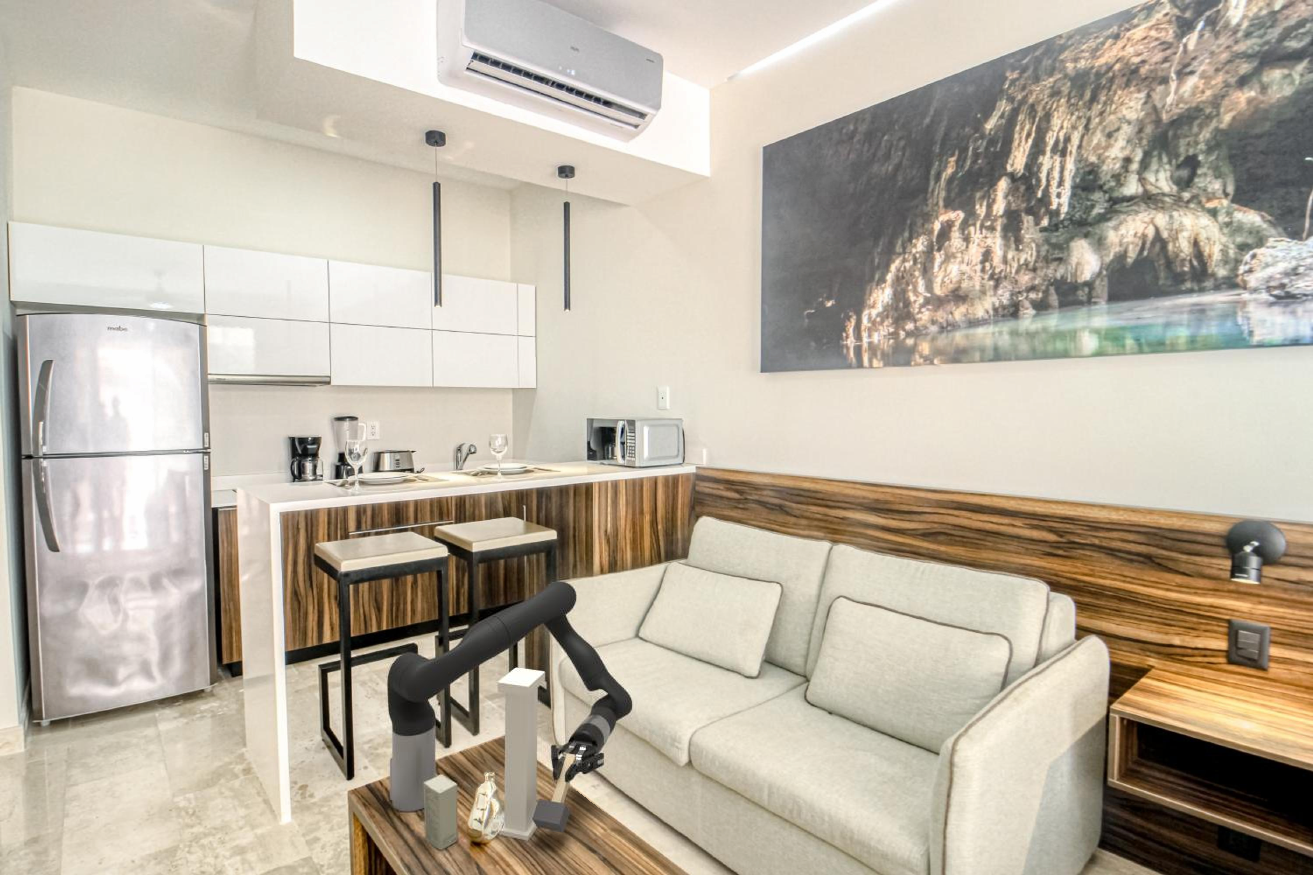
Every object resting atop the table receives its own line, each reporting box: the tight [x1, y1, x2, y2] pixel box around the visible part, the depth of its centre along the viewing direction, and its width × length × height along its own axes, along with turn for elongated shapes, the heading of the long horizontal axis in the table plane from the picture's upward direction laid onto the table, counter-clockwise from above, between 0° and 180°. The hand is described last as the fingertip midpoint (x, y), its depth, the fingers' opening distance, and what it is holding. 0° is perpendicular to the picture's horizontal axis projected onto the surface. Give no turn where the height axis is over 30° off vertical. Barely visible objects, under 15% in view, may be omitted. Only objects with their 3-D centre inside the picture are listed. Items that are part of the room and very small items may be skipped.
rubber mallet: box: [532, 754, 576, 833], centre depth 142 cm, size 15×6×4 cm
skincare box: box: [423, 773, 459, 851], centre depth 137 cm, size 6×4×12 cm
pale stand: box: [497, 667, 546, 842], centre depth 141 cm, size 8×7×33 cm
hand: (561, 776), depth 142 cm, fingers closed on rubber mallet, 2 cm apart
